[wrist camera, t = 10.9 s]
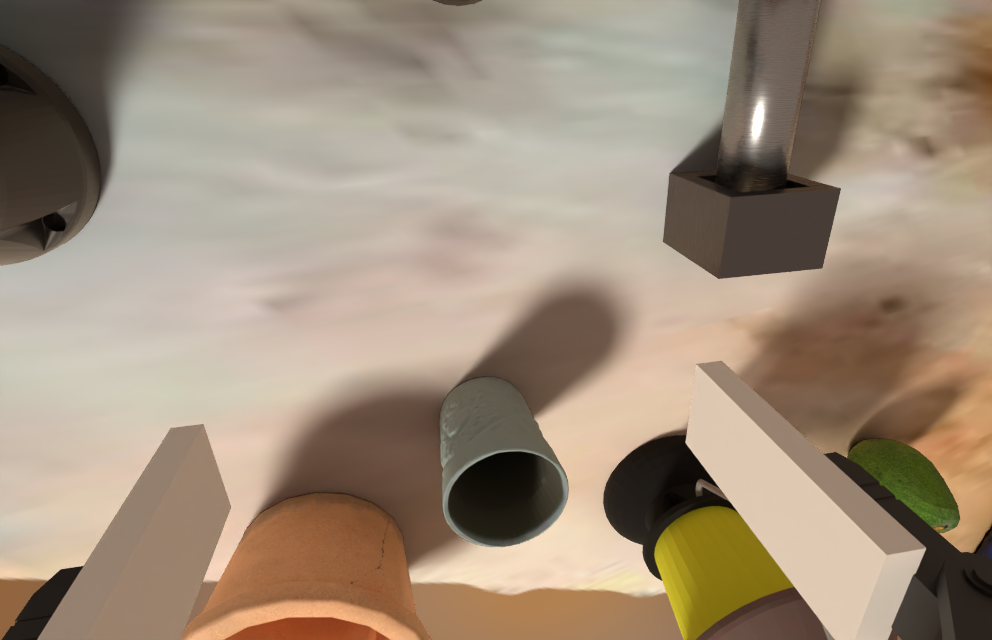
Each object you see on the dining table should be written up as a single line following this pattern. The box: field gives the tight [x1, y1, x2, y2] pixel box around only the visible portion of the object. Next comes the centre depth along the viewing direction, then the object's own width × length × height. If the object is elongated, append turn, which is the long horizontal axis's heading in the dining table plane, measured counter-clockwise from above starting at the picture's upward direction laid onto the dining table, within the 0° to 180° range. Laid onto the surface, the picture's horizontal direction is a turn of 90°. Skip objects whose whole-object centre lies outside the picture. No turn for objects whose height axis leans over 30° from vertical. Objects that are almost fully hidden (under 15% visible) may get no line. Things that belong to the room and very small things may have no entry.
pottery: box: [180, 493, 432, 640], centre depth 51 cm, size 22×22×14 cm
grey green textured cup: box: [440, 376, 569, 547], centre depth 48 cm, size 10×10×12 cm
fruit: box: [847, 438, 960, 533], centre depth 58 cm, size 8×8×12 cm
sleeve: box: [663, 170, 841, 279], centre depth 43 cm, size 8×6×9 cm
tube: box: [715, 0, 821, 192], centre depth 39 cm, size 20×5×5 cm, turn 2°
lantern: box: [603, 436, 897, 640], centre depth 48 cm, size 25×19×30 cm
